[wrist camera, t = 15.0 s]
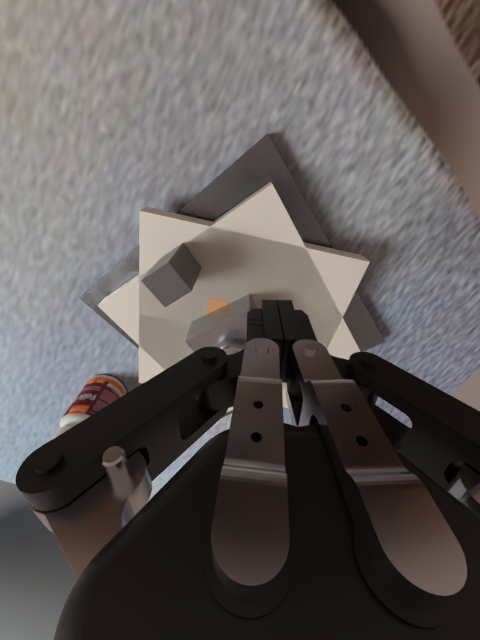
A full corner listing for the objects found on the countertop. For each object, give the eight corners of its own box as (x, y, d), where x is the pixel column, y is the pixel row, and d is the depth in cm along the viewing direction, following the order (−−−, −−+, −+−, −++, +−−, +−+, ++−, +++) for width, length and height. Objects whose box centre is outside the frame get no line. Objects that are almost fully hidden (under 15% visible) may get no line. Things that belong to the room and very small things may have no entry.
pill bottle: (106, 368, 32) (65, 428, 25) (134, 391, 34) (104, 454, 27) (80, 382, 34) (35, 443, 27) (108, 404, 36) (73, 466, 29)
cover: (249, 294, 23) (249, 322, 19) (278, 343, 25) (283, 377, 22) (191, 321, 24) (181, 352, 21) (225, 365, 27) (221, 399, 23)
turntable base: (381, 335, 28) (385, 341, 27) (221, 412, 36) (220, 418, 35) (266, 134, 19) (267, 133, 18) (84, 293, 27) (79, 297, 26)
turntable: (404, 355, 28) (439, 400, 23) (209, 432, 36) (203, 478, 31) (292, 89, 17) (311, 61, 12) (48, 286, 25) (-5, 320, 20)
